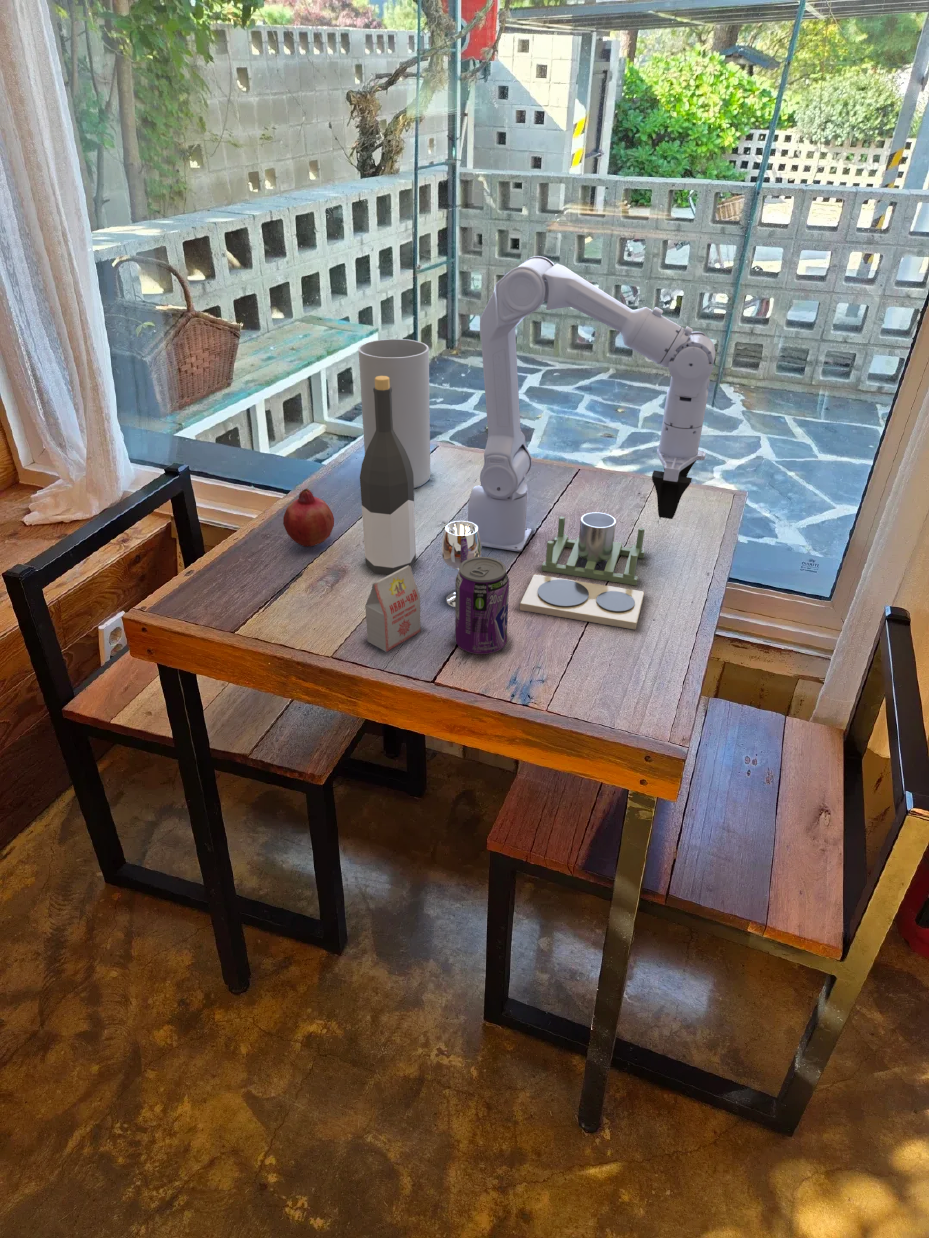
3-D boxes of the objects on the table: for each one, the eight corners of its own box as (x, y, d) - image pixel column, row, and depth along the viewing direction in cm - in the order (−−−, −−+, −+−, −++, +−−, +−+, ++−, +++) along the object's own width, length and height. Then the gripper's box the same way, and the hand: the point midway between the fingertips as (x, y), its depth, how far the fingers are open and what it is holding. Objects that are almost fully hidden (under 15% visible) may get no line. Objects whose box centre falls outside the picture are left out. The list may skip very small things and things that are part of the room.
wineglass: (452, 614, 120) (452, 540, 113) (435, 595, 124) (434, 524, 117) (487, 604, 122) (489, 532, 115) (469, 586, 126) (470, 516, 120)
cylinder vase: (441, 472, 163) (440, 344, 149) (412, 496, 153) (408, 361, 140) (385, 462, 167) (379, 336, 154) (354, 484, 158) (345, 352, 144)
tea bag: (367, 641, 114) (363, 579, 108) (402, 621, 118) (399, 560, 113) (386, 651, 112) (382, 588, 106) (420, 631, 116) (419, 569, 111)
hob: (519, 610, 121) (519, 601, 120) (533, 580, 128) (534, 572, 127) (635, 630, 117) (637, 621, 116) (643, 598, 124) (644, 589, 123)
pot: (574, 558, 130) (577, 524, 127) (580, 543, 135) (584, 510, 132) (609, 564, 129) (613, 529, 126) (614, 548, 134) (618, 514, 130)
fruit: (343, 548, 136) (339, 493, 131) (297, 560, 133) (291, 504, 127) (324, 529, 142) (318, 475, 136) (279, 540, 138) (272, 485, 133)
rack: (541, 570, 131) (543, 542, 128) (554, 542, 139) (556, 515, 136) (636, 585, 127) (640, 557, 124) (644, 555, 135) (648, 528, 132)
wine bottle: (387, 547, 137) (378, 366, 120) (426, 561, 133) (422, 376, 116) (355, 566, 131) (341, 379, 115) (394, 581, 127) (385, 390, 111)
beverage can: (489, 664, 110) (492, 587, 103) (445, 648, 113) (444, 572, 106) (515, 639, 115) (519, 564, 108) (472, 623, 118) (473, 550, 111)
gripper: (706, 442, 113) (690, 531, 121) (715, 409, 125) (699, 492, 132) (654, 436, 115) (642, 523, 122) (667, 404, 126) (655, 485, 134)
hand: (669, 506), depth 127 cm, fingers open, 7 cm apart
